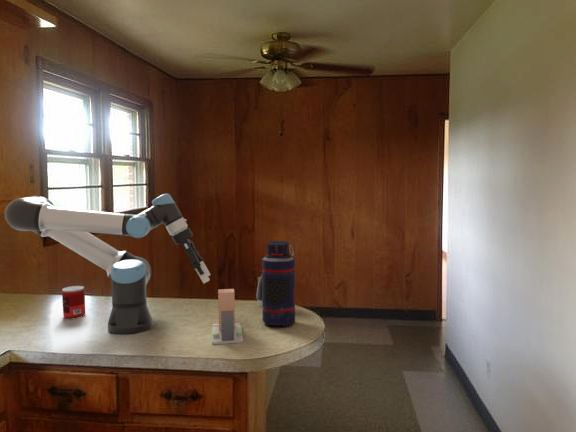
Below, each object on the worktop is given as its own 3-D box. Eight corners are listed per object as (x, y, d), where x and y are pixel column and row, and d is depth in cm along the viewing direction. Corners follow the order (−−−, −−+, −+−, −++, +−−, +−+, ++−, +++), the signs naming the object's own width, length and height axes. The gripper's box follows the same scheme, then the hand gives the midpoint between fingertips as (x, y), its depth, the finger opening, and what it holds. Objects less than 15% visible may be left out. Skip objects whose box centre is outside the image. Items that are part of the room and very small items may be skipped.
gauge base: (212, 344, 149) (212, 338, 149) (212, 329, 164) (212, 323, 164) (243, 342, 151) (243, 336, 151) (240, 327, 166) (240, 321, 165)
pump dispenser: (281, 309, 187) (281, 272, 186) (255, 309, 187) (255, 272, 186) (282, 302, 197) (281, 267, 196) (257, 302, 197) (257, 267, 196)
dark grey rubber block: (221, 341, 150) (221, 313, 149) (221, 338, 153) (220, 311, 152) (234, 340, 150) (233, 313, 150) (233, 337, 153) (233, 310, 152)
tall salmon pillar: (213, 330, 159) (212, 293, 158) (213, 325, 164) (212, 289, 163) (240, 329, 161) (240, 292, 159) (240, 324, 165) (239, 288, 164)
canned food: (89, 313, 184) (88, 285, 183) (78, 319, 176) (76, 290, 175) (70, 312, 185) (69, 285, 184) (59, 318, 177) (57, 290, 176)
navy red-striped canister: (291, 329, 163) (291, 244, 160) (258, 327, 165) (257, 244, 163) (298, 317, 176) (298, 239, 174) (268, 316, 179) (267, 238, 176)
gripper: (186, 228, 167) (215, 279, 169) (190, 225, 192) (216, 269, 194) (167, 238, 166) (197, 289, 168) (174, 234, 191) (200, 279, 193)
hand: (207, 279), depth 181 cm, fingers open, 13 cm apart
